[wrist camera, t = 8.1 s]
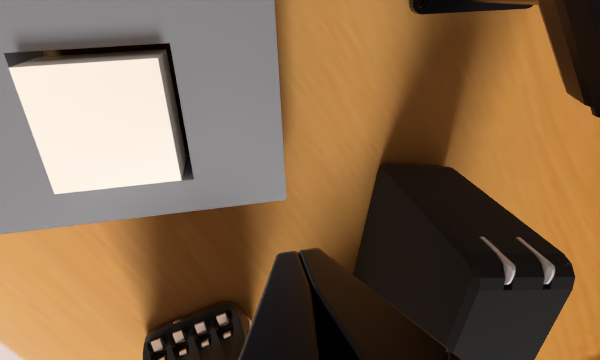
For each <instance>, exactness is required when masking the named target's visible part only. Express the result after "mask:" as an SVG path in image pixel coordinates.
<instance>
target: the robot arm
mask: <svg viewBox="0 0 600 360" xmlns="http://www.w3.org/2000/svg"><path fill="white" fill-rule="evenodd" d="M418 1H419V0H409V5H410V9H411V11H412V12H414V13H416V14H436V13H455V12H473V11H491V10H509V9H527V8H530V7H532V6H533V5H539V9H540V12H541V15H542V18H543V21H544V25H545V28H546V31H547V34H548V37H549V41H550V44H551V47H552V50H553V53H554V56H555V60H556V63H557V66H558V69H559V72H560V76H561V79H562V81H563V84H564V86H565V89H566V92H567V93H568V94H569V95H571V96H572V97H574V98H575V99H577V100H578V101H580V102H581V103H583V104H584V105H587V106H589V107H591V111H592V114H593V115H594V116H596V117H600V0H424V5H423V6H422V7H421V8H419V6H418ZM238 360H462V359H461V358H460V357H459V356H457V355H456V354H455V353H453V352H452V351H448V353H447V347H445V346H444V345H443V344H442V343H440V342H439V341H438V340H436V339H435V338H434V337H433V336H431V335H430V334H429V333H427V332H426V331H425V330H424V329H422V328H421V327H420V326H418V325H417V324H416V323H415V322H413V321H412V320H411V319H409V318H408V317H407V316H406V315H404V314H403V313H402V312H400V311H399V310H398V309H397V308H395V307H394V306H393V305H391V304H390V303H389V302H388V301H386V300H385V299H384V298H382V297H381V296H380V295H379V294H377V293H376V292H375V291H373V290H372V289H371V288H370V287H368V286H367V285H366V284H364V283H363V282H362V281H361V280H359V279H358V278H357V277H355V276H354V275H353V274H352V273H350V272H349V271H348V270H346V269H345V268H344V267H343V266H341V265H340V264H339V263H337V262H336V261H335V260H334V259H332V258H331V257H330V256H328V255H327V254H326V253H325V252H323V251H322V250H321V249H319V248H312V249H305V250H300V251H299V253H298V252H296V251H291V252H283V253H279V254H278V255H277V256H276V259H275V262H274V264H273V267H272V270H271V272H270V275H269V278H268V281H267V283H266V286H265V289H264V291H263V294H262V297H261V300H260V302H259V305H258V308H257V310H256V313H255V316H254V319H253V321H252V324H251V327H250V329H249V332H248V335H247V338H246V340H245V343H244V346H243V349H242V351H241V354H240V357H239V359H238Z"/></svg>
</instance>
